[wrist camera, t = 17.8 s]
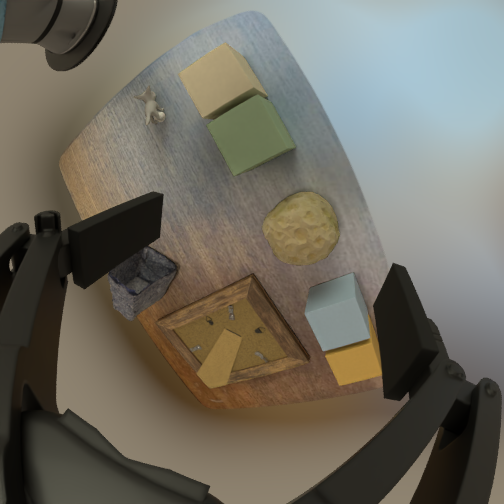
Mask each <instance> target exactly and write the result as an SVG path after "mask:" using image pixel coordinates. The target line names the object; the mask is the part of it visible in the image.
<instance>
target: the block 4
mask: <svg viewBox="0 0 504 504" xmlns="http://www.w3.org/2000/svg"><path fill="white" fill-rule="evenodd" d="M368 320H369V329H370V338H369V339H366V340H362V341H359V342H356V343H352V344H349V345H345V346H342V347H338V348H334V349H330V350H327V351H326V355H325V357H326V359H327V361H328V363H329V365H330V367H331V369H332V371H333V373H334V375H335V377H336V379H337V381H338V384H339V386H341V385H345V384H350V383H354V382H358V381H362V380H366V379H369V378H373V377H377V376H380V375H382V368H381V359H380V350H379V343H378V340H377V337H376V334H375V331H374V328H373V325H372V322H371V319H370V316H369V315H368Z"/></svg>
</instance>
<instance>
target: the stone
mask: <svg viewBox="0 0 504 504" xmlns="http://www.w3.org/2000/svg"><path fill="white" fill-rule="evenodd" d="M176 271H177V266H176V265H175V264H174V263H173V262H172V261H171V260H169V259H167V258H166V256H164V255H162V254H159V253H158V252H156V251H155V250H153V249H152V248H150V247H148V246H146V247H145V248H143V249H142V250H140V251H139V252H137V253H136V254H134V255H133V256H131V257H130V258H128V259H127V260H125V261H124V262H122V263H121V264H119V265H118V266H117V267H115V268H114V269H112V270H111V271H109V274H108V281H109V283H110V285H111V288H110V290H111V292H112V295H113V300H112V301H113V307H114V309H116V310H118V311H120V312H121V313H122V315H123V316H125V317H126V318H127V319H128V320H129V321H132V320H133V319H134V318H135V317H136V316H137V315H138V314H140V312H141V311H143V310H145V309H146V308H148V307H149V306H151V305H153V304H154V303H155V302H156V301H158V300H160V299H161V298H162V297H163V296H164V294H165V293H166V290H167V288H168V286H169V284H170V282H171V281H172V279H173V278H174V276H175V274H176Z"/></svg>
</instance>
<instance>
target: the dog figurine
mask: <svg viewBox="0 0 504 504" xmlns="http://www.w3.org/2000/svg"><path fill="white" fill-rule="evenodd" d="M134 98H137V99H141V100H143V101H144V102H145V103H146V106H145V116H146V122H145V124H146V126H147V125H148V124H149V123H150V121H151V122H152V123H154V124H157V123H158V122H162V121H164V120H165V114H164V113H163V111H164V108H162V109H161V108H160V107H159V105H158V104H157V103H156V102H155V98H156V94H155V93H154V92H153V91H150V86H148V88H147V90H146V91H145V92H143V93H142V95H139V96H134ZM156 109H157V110H160V111H162V112H159V111H157V110H156ZM153 116H155V120H156V121H154V118H153Z"/></svg>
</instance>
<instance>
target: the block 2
mask: <svg viewBox="0 0 504 504" xmlns="http://www.w3.org/2000/svg"><path fill="white" fill-rule="evenodd" d="M206 126H207V128H208V130H209V131H210V133H211V135H212V137H213V139H214V141H215V142H216V144H217V146H218V148H219V150H220V152H221V154H222V155H223V157H224V159H225V161H226V163H227V165H228V167H229V168H230V170H231V172H232V174H233V176H237V175H239V174H242V173H245V172H247V171H250V170H252V169H254V168H256V167H258V166H260V165H262V164H264V163H266V162H268V161H270V160H272V159H274V158H276V157H278V156H280V155H282V154H284V153H286V152H288V151H290V150H292V149H294V148H296V146H295V144H294V142H293V140H292V138H291V136H290V135H289V133H288V131H287V129H286V127H285V125H284V124H283V122H282V120H281V118H280V116H279V115H278V113H277V111H276V109H275V108H274V106H273V104H272V102H270V101H268V100H266V99H265V98H263V97H261V96H259V95H256V96H254V97H252V98H250V99H249V100H247V101H245V102H243V103H242V104H240V105H238V106H236V107H235V108H233V109H231V110H230V111H228V112H226V113H225V114H223V115H221V116H220V117H218V118H217V119H215V120H213V121H212V122H210V123H209V124H207V125H206Z"/></svg>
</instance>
